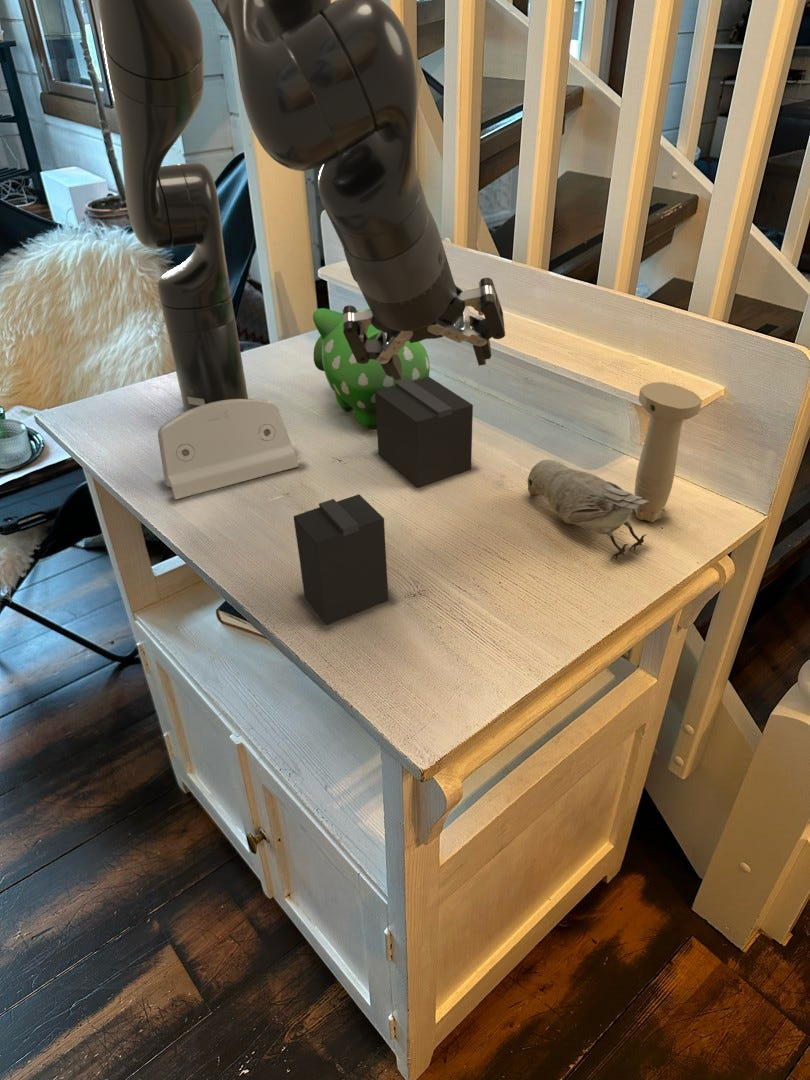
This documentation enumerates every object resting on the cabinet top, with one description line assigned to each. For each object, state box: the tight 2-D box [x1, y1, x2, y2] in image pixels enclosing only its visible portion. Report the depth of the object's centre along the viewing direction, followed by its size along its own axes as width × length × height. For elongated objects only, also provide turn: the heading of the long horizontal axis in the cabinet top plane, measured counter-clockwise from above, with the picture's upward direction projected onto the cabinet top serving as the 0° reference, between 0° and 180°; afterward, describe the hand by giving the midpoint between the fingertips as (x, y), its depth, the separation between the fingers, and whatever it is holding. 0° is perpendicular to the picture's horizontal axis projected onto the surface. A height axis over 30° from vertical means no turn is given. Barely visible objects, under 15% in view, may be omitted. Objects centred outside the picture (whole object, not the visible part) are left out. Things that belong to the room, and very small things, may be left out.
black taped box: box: [375, 376, 474, 488], centre depth 95 cm, size 10×8×9 cm
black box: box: [293, 493, 389, 626], centre depth 73 cm, size 5×7×10 cm
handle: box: [633, 381, 703, 523], centre depth 82 cm, size 5×6×15 cm
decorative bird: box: [527, 459, 649, 562], centre depth 83 cm, size 5×16×7 cm, turn 35°
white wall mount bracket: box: [157, 398, 299, 500], centre depth 96 cm, size 17×5×10 cm, turn 117°
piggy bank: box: [312, 307, 431, 430], centre depth 107 cm, size 14×18×15 cm
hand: (439, 364), depth 76 cm, fingers open, 8 cm apart
